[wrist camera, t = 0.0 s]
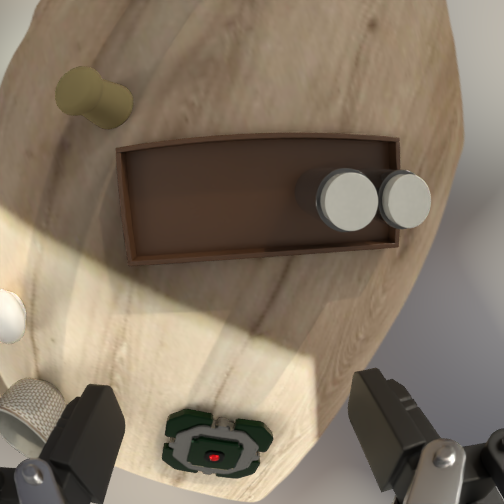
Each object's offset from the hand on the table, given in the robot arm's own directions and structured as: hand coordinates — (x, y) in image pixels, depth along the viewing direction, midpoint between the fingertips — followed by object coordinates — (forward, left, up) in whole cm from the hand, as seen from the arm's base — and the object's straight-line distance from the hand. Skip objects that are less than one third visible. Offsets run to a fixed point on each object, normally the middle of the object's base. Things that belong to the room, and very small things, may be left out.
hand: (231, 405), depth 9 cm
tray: (-4, +4, -29) cm, 30 cm away
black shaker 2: (-4, +17, -29) cm, 34 cm away
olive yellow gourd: (-17, -14, -30) cm, 37 cm away
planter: (+28, -37, -30) cm, 55 cm away
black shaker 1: (-4, +11, -29) cm, 31 cm away
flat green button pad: (+38, -6, -30) cm, 48 cm away
